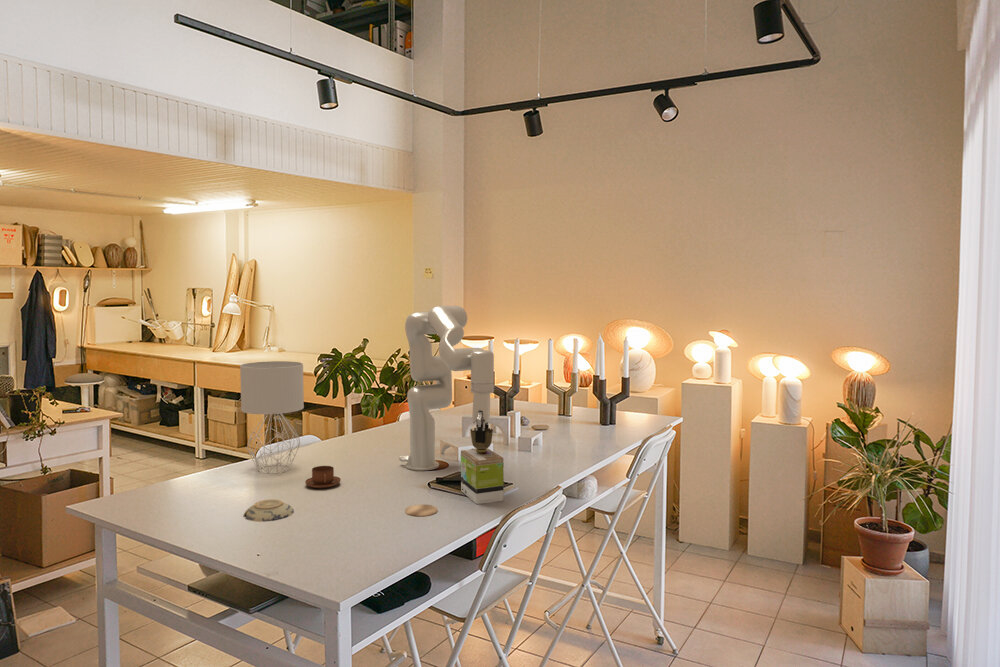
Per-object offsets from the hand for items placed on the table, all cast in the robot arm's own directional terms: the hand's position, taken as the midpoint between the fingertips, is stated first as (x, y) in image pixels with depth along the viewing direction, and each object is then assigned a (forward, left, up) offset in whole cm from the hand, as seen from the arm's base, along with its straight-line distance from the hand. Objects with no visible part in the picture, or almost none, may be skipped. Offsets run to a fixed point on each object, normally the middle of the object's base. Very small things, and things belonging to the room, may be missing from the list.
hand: (482, 439), depth 233 cm
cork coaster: (-17, -17, -19) cm, 31 cm away
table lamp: (-82, +25, -19) cm, 88 cm away
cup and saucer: (-57, +7, -20) cm, 60 cm away
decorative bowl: (-63, -24, -20) cm, 70 cm away
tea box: (0, 0, -20) cm, 20 cm away
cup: (0, 0, -5) cm, 5 cm away
